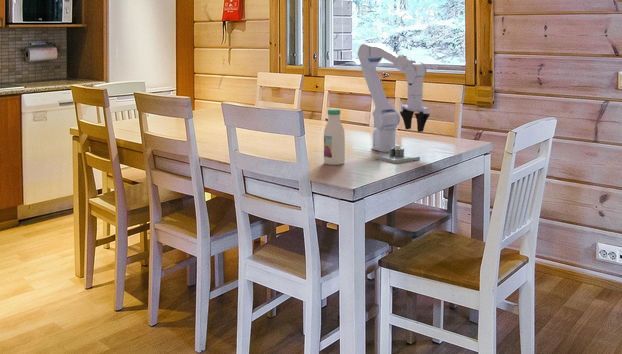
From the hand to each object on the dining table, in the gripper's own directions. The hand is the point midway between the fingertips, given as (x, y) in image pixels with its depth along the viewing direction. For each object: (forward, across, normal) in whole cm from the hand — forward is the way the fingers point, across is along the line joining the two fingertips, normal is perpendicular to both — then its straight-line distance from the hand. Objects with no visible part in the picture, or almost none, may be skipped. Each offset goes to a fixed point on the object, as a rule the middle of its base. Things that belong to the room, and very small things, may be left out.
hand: (414, 130), depth 250 cm
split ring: (+9, +2, -10) cm, 13 cm away
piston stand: (+10, +2, -10) cm, 14 cm away
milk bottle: (+10, -4, -34) cm, 36 cm away
